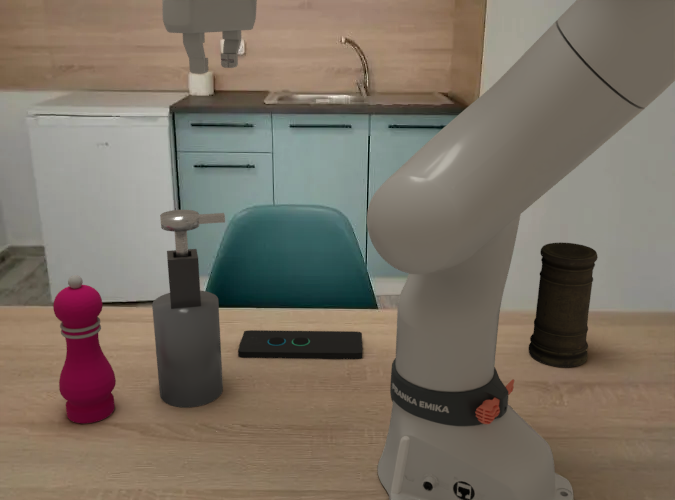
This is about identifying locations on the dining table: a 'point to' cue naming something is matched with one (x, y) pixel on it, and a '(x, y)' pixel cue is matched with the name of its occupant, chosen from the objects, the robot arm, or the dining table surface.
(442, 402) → the robot arm
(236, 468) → the dining table surface
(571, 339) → the container
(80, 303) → the pepper mill
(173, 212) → the pump head
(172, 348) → the dispenser
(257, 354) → the smart home device
